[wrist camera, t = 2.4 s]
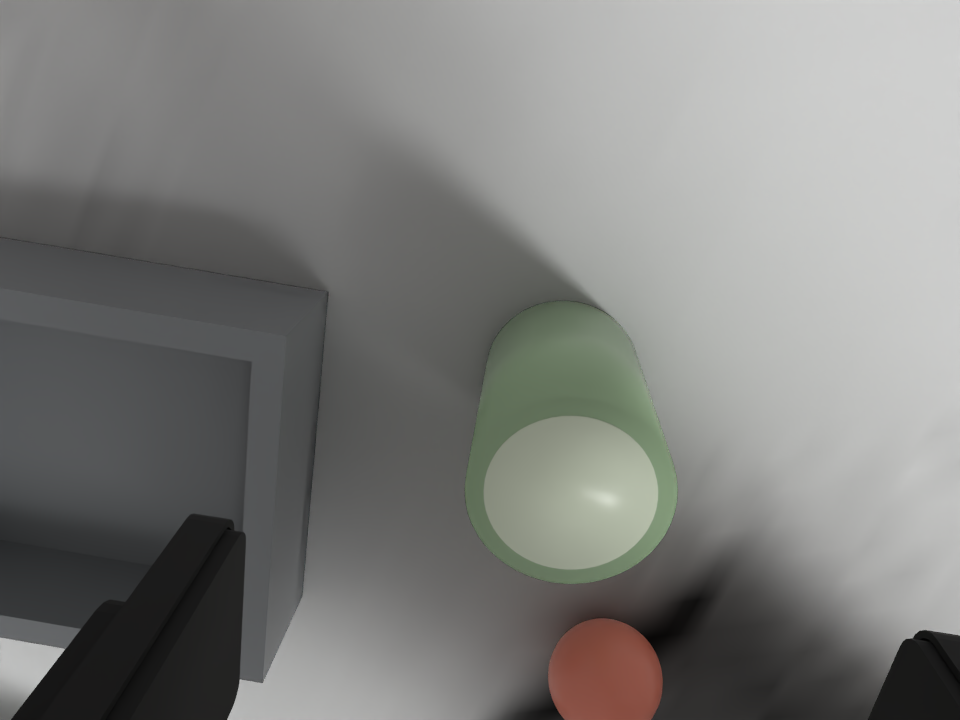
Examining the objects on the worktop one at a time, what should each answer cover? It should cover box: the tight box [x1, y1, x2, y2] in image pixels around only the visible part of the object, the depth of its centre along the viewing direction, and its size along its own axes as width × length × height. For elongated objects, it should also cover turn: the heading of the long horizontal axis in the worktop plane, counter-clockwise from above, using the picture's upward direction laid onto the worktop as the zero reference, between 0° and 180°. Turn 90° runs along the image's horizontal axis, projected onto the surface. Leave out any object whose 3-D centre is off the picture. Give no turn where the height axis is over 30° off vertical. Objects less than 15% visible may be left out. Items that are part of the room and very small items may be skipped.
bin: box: [0, 237, 328, 683], centre depth 23 cm, size 12×11×4 cm
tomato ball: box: [548, 618, 663, 720], centre depth 24 cm, size 4×4×4 cm
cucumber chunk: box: [465, 301, 678, 584], centre depth 20 cm, size 4×4×7 cm
